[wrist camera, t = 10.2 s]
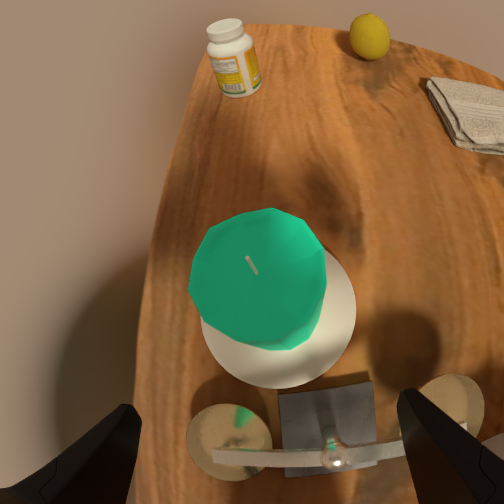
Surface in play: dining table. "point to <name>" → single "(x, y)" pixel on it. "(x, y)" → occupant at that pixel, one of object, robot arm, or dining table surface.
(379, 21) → the lemon
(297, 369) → the dish
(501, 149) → the washcloth
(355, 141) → the dining table surface
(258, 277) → the candle
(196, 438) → the balance
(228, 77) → the supplement bottle
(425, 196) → the dining table surface
